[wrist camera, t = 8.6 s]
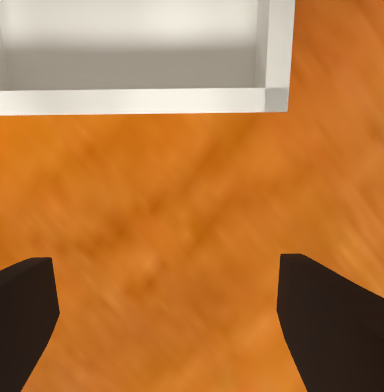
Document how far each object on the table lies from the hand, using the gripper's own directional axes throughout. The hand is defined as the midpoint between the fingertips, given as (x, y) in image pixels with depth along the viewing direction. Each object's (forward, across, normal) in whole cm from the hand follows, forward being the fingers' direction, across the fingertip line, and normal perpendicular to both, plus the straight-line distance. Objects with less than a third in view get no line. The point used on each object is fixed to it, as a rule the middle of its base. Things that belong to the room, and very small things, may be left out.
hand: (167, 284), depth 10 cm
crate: (+9, +2, -10) cm, 14 cm away
